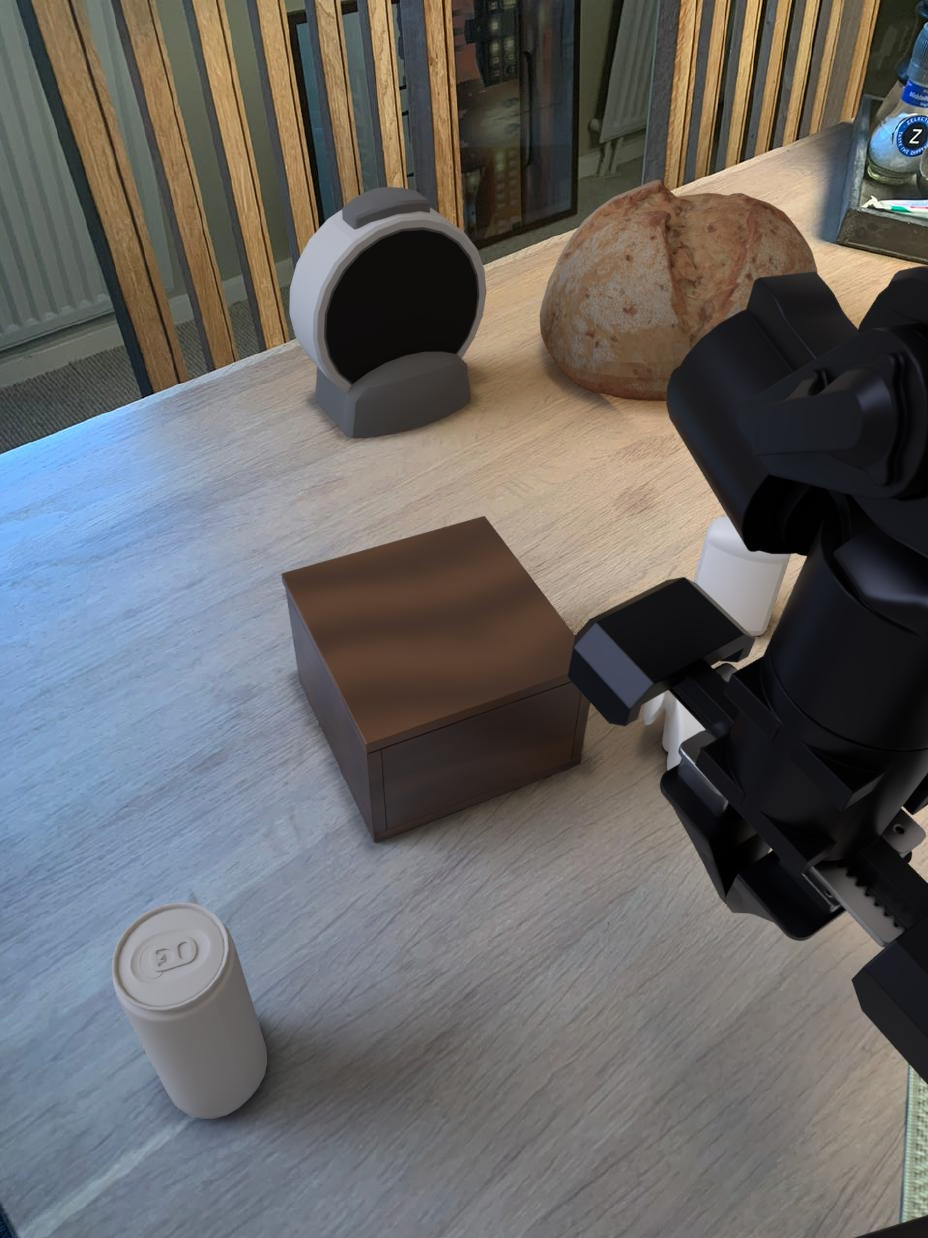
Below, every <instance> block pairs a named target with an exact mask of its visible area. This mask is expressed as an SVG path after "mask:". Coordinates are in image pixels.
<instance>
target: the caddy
mask: <svg viewBox="0 0 928 1238" xmlns="http://www.w3.org/2000/svg"><path fill="white" fill-rule="evenodd" d="M285 596H286V603H287V608H288V615H289V621H290V629H291V635H292V641H293V649H294V654H295V655H294V656H295V662H296V668H297V675H298V681H299V683H300V685H301V688H302V690H303V692H304V694H305V696H306V698H307V700H308V703H309V705H310V707H311V710H312V711H313V713H314V716H315V718H316V720H317V722H318V725H319V726H320V729H321V731H322V733H323V736H324V737H325V740H326V742H327V744H328V746H329V747H330V750H331V753H332V754H333V757H334V759H335V761H336V763H337V766H338V767H339V771H340V772H341V774H342V776H343V778H344V780H345V782H346V785H347V787H348V789H349V791H350V794H351V796H352V798H353V800H354V802H355V804H356V806H357V809H358V811H359V813H360V815H361V818H362V819H363V821H364V824H365V826H366V828H367V831H368V832H369V834H370V838H371V839H372V841H373V843H374V844H375V843H378V842H380V841H383V840H386V839H388V838H390V837H391V838H392V837H393V836H396V835H398V834H401V833H404V832H407V831H409V830H412V829H414V828H417V827H420V826H422V825H425V824H427V823H430V822H433V821H435V820H437V819H440V818H443V817H447V816H448V815H451V814H453V813H456V812H459V811H461V810H464V809H466V808H470V807H471V806H474V805H476V804H480V803H482V802H484V801H487V800H490V799H492V798H495V797H498V796H500V795H504V794H506V793H509V792H511V791H513V790H516V789H518V788H519V789H520V788H521V787H524V786H526V785H529V784H532V783H534V782H537V781H539V780H543V779H544V778H548V777H550V776H552V775H556V774H559V773H560V772H564V771H565V770H568V769H572V768H573V767H576V766H578V765H581V762H582V754H583V749H584V744H585V738H586V732H587V731H586V730H587V725H588V718H589V713H590V706H591V703H590V702H589V701H588V699H587V698H586V697H585V696H584V695H583V694H582V693H581V691H580V690H579V689H578V688H577V687H576V686H575V685H574V684H573V682H572V681H571V682H568V683H566V684H563V685H560V686H557V687H554V688H551V689H549V690H546V691H543V692H540V693H537V694H534V695H532V696H529V697H526V698H523V699H520V700H517V701H514V702H512V703H509V704H506V705H503V706H500V707H497V708H495V709H492V710H489V711H486V712H483V713H480V714H478V715H475V716H472V717H469V718H466V719H463V720H461V721H458V722H455V723H452V724H449V725H446V726H443V727H441V728H438V729H435V730H432V731H429V732H426V733H424V734H421V735H418V736H415V737H412V738H409V739H407V740H404V741H401V742H398V743H395V744H392V745H390V746H387V747H384V748H381V749H378V750H375V751H373V752H370V753H367V752H366V751H365V749H364V747H363V745H362V743H361V741H360V739H359V737H358V735H357V733H356V731H355V729H354V727H353V724H352V722H351V720H350V718H349V716H348V714H347V712H346V710H345V708H344V706H343V704H342V702H341V700H340V698H339V696H338V694H337V692H336V690H335V688H334V686H333V684H332V682H331V680H330V678H329V676H328V674H327V672H326V670H325V668H324V666H323V664H322V662H321V660H320V658H319V656H318V654H317V652H316V649H315V647H314V645H313V643H312V641H311V639H310V637H309V635H308V633H307V631H306V629H305V627H304V625H303V623H302V621H301V619H300V617H299V615H298V613H297V611H296V609H295V607H294V605H293V603H292V601H291V599H290V597H289V595H288V593H287V591H286V590H285Z"/></svg>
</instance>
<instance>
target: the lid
mask: <svg viewBox="0 0 928 1238" xmlns="http://www.w3.org/2000/svg"><path fill="white" fill-rule="evenodd" d="M280 576H281V581H282V585H283V587H284V588H285V592H286V591H287V593H288V595H289V597H290V599H291V601H292V603H293V605H294V607H295V609H296V611H297V613H298V615H299V617H300V619H301V621H302V623H303V625H304V627H305V629H306V631H307V633H308V635H309V637H310V639H311V641H312V643H313V645H314V647H315V649H316V652H317V654H318V656H319V658H320V660H321V662H322V664H323V666H324V668H325V670H326V672H327V674H328V676H329V678H330V680H331V682H332V684H333V686H334V688H335V690H336V692H337V694H338V696H339V698H340V700H341V702H342V704H343V706H344V708H345V710H346V712H347V714H348V716H349V718H350V720H351V722H352V724H353V727H354V729H355V731H356V733H357V735H358V737H359V739H360V741H361V743H362V745H363V747H364V749H365V751H366V752H367V753H370V752H373V751H375V750H378V749H381V748H384V747H387V746H390V745H392V744H395V743H398V742H401V741H404V740H407V739H409V738H412V737H415V736H418V735H421V734H424V733H426V732H429V731H432V730H435V729H438V728H441V727H443V726H446V725H449V724H452V723H455V722H458V721H461V720H463V719H466V718H469V717H472V716H475V715H478V714H480V713H483V712H486V711H489V710H492V709H495V708H497V707H500V706H503V705H506V704H509V703H512V702H514V701H517V700H520V699H523V698H526V697H529V696H532V695H534V694H537V693H540V692H543V691H546V690H549V689H551V688H554V687H557V686H560V685H563V684H566V683H568V682H571V680H570V679H569V678H568V677H567V676H568V671H569V665H570V660H571V654H572V649H573V644H574V639H575V635H576V634H575V633H574V632H573V630H572V629H571V628H570V626H569V625H568V624H567V622H566V621H565V620H564V618H562V616H561V614H560V613H559V612H558V611H557V609H556V608H555V606H553V604H552V602H551V601H550V600H549V599H548V597H547V596H546V595H545V594H544V592H543V591H542V589H540V587H539V585H538V584H537V583H536V582H535V580H534V579H533V578H532V576H531V575H530V574H529V573H528V571H527V570H526V568H525V567H524V566H523V564H522V563H521V562H520V560H519V559H518V558H517V556H516V555H515V554H514V553H513V551H512V550H511V549H510V548H509V546H508V545H507V543H506V542H505V541H504V539H503V538H502V537H501V535H500V534H499V533H498V531H497V530H496V529H495V528H494V526H493V525H492V524H491V522H490V521H489V520H488V518H487V517H486V515H482V516H479V517H474V518H471V519H469V520H464V521H462V522H461V521H460V522H458V523H454V524H450V525H447V526H443V527H440V528H436V529H433V530H430V531H425V532H423V533H419V534H415V535H412V536H408V537H404V538H401V539H398V540H395V541H389V542H387V543H384V544H380V545H377V546H373V547H370V548H365V549H361V550H358V551H355V552H351V553H348V554H345V555H341V556H337V557H334V558H331V559H327V560H323V561H320V562H316V563H314V564H309V565H305V566H302V567H299V568H296V569H291V570H288V571H284V572H282V573H281V575H280Z"/></svg>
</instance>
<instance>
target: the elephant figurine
mask: <svg viewBox="0 0 928 1238" xmlns="http://www.w3.org/2000/svg"><path fill="white" fill-rule="evenodd" d="M662 710H664V714H665V715H664V725H663V726H664V727H663V731H662V740H661V744H662V748H663V749H664V750H665V752H668V754H667V757H666V771H668V770H670V769H671V768H673V767H675V766H676V765H678V764H679V763H680V761H681V759H682V757H681V756H680V755H679V753H678V750H679V747H680V744H681V743H682V742H683V741H685V740H687V739H688V738H690V737H692V736H694V735H695V734H697V733H699V732H700V731H704V730H705V728H704V727H703V726H702V725H701V724H700V723H699V722H698V721H697V720H696V719H695V718H694V717H693V716H692V715H691V714H690V713H689V712H688V711H687V709H686V708H685V707H684V706H683V705H682V704H681V703H680V702H679V701H678V700H677V699H676V698H675V697H674V696H673V695H672V694H671V693H670V692H669V691H666V692H664V693H662V694H660V695H659V696H657V697H655V698H653V699H652V700H650V701H648V702H646V703H644V704H643V705H642V708H641V718H642V722H643V725H646V726H648V725H652V724H653V723H654V722H655V721H656V719H657V718H658V717H659V715H660V714H661V713H662Z"/></svg>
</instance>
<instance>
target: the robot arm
mask: <svg viewBox="0 0 928 1238" xmlns="http://www.w3.org/2000/svg"><path fill="white" fill-rule="evenodd" d="M665 405H666V410H667V414H668V418H669V420H670V421H671V423H672V425H673V427H674V428H675V430H676V432H677V433H678V435H679V437H680V439H681V440H682V442H683V444H684V445H685V448H687V451H688V452H689V454H690V456H691V457H692V459H693V460H694V462H695V463H696V466H697V467H698V469H699V470H700V472H701V474H702V476H703V477H704V479H705V481H706V482H707V484H708V486H709V487H710V489H711V490H712V492H713V494H714V495H715V498H716V499H717V502H718V503H719V504H720V506H721V508H722V509H723V511H724V513H725V515H726V516H728V518H729V519H730V521H731V523H732V524H733V526H734V528H735V529H736V531H737V533H738V534H739V536H740V538H741V539H742V541H743V543H744V544H745V546H746V548H747V549H748V550H749V551H750V552H756V551H761V552H765V553H769V554H791V555H795V554H796V555H798V556H803V557H806V558H805V560H804V561H803V565H802V566H801V569H800V571H799V573H798V575H797V578H796V580H795V582H794V585H793V587H792V589H791V592H790V593H789V596H788V598H787V601H786V603H785V605H784V608H783V610H782V612H781V615H780V616H779V619H778V621H777V623H776V626H775V628H774V630H773V632H772V634H771V637H770V639H769V642H768V644H767V646H766V648H765V650H764V653H763V655H762V656H760V657H758V658H757V659H755V660H754V661H752V662H749V663H748V664H746V665H744V666H743V667H740V668H739V669H737V668H736V666H734V664H732V663H737V664H738V663H739V662H741V661H743V660H745V659H746V658H748V657H750V656H749V655H750V654H751V652H752V649H753V647H754V645H755V643H756V638H755V636H752V635H751V634H749V633H748V632H747V631H746V630H745V629H744V628H743V627H742V626H741V625H740V624H739V623H738V622H737V621H736V620H735V619H734V618H733V617H731V616H730V615H729V614H728V613H727V612H726V611H725V610H724V609H723V608H722V607H721V606H720V605H719V604H718V603H717V602H716V601H715V600H714V599H712V598H711V597H710V596H709V595H708V594H707V593H706V592H705V591H704V590H703V589H702V588H701V587H700V586H699V585H698V584H697V583H695V582H694V580H691V579H689V578H687V577H686V576H681V577H675V578H670V579H666V580H664V581H662V582H660V583H658V584H656V585H654V586H652V587H650V588H648V589H646V590H645V591H643V592H641V593H639V594H637V595H635V596H632V597H631V598H629V599H627V600H625V601H622V602H621V603H618V604H617V605H615V606H613V607H610V608H609V609H607V610H605V611H603V612H601V613H599V614H597V615H594V616H593V617H591V618H590V619H588V620H587V621H586V623H584V624H583V626H582V627H581V628H580V629H579V631H578V632H577V633H576V634H574V635H575V639H574V644H573V649H572V654H571V660H570V665H569V671H568V676H567V677H568V678H569V679H570V680H571V681H572V682H573V684H574V685H575V686H576V687H577V688H578V689H579V690H580V691H581V693H582V694H583V695H584V696H585V697H586V698H587V699H588V701H589V702H590V705H592V706H593V708H595V710H596V711H597V712H598V713H599V715H601V716H602V718H603V719H604V720H605V721H606V722H607V723H608V724H610V725H615V726H619V727H627V726H628V725H631V724H632V723H634V722H636V721H638V720H639V716H640V713H641V711H642V708H643V704H644V703H646V702H648V701H650V700H652V699H653V698H655V697H657V696H659V695H660V694H662V693H664V692H666V691H669V692H670V693H671V694H672V695H673V696H674V697H675V698H676V699H677V700H678V701H679V702H680V703H681V704H682V705H683V706H684V707H685V708H686V709H687V711H688V712H689V713H690V714H691V715H692V716H693V717H694V718H695V719H696V720H697V721H698V722H699V723H700V724H701V725H702V726H703V727H704V728H705V730H704V731H700V732H699V733H697V734H695V735H694V736H692V737H690V738H688V739H687V740H685V741H683V742H682V743H681V744H680V747H679V750H678V753H679V755H680V756H681V757H682V759H681V761H680V763H679V764H678V765H676V766H675V767H673V768H671V769H670V770H666V771H665V772H664V773H663V774H662V775H661V778H660V782H659V789H660V792H661V794H662V796H663V797H664V798H665V799H666V801H667V802H668V804H670V806H671V807H672V809H673V810H674V812H675V814H676V816H677V817H678V819H679V821H680V823H681V825H682V827H683V828H684V830H685V832H686V834H687V836H688V838H689V839H690V841H691V843H692V845H693V847H694V849H695V851H696V852H697V854H698V856H699V859H700V860H701V862H702V864H703V867H704V868H705V871H706V872H707V874H708V877H709V879H710V881H711V883H712V885H713V887H714V889H715V891H716V893H717V895H718V898H719V899H720V900H721V901H722V902H723V903H724V905H726V907H727V908H728V909H729V910H730V912H731V913H733V914H748V915H752V916H753V915H754V916H756V917H759V918H761V919H763V920H766V921H768V922H771V923H773V924H774V925H776V926H777V927H778V928H779V930H780V931H781V932H782V933H783V934H784V935H785V936H786V937H787V938H788V939H791V940H792V941H796V942H805V941H808V940H810V939H811V938H813V937H814V936H816V935H817V934H819V932H821V931H822V930H823V929H825V928H826V927H828V926H829V925H830V924H832V923H833V922H835V921H836V920H837V919H838V918H840V917H841V916H843V915H844V914H845V913H848V914H849V915H850V917H851V918H853V920H855V921H856V923H857V924H858V925H859V926H860V928H862V929H863V931H864V932H866V933H867V935H868V936H869V937H870V938H871V939H872V940H873V941H874V942H875V943H876V944H877V945H878V946H879V947H880V948H882V950H880V951H879V952H878V953H877V954H876V955H875V956H873V957H872V958H871V959H870V960H869V961H868V962H867V963H865V964H864V965H863V966H862V967H861V968H860V969H859V970H858V972H857V973H855V975H854V976H853V977H852V978H851V979H850V980H851V984H852V987H853V989H854V992H855V995H856V998H857V1002H858V1003H859V1006H860V1009H861V1011H862V1012H863V1014H864V1015H865V1016H866V1017H867V1018H868V1019H869V1021H871V1023H872V1024H873V1025H874V1026H875V1027H876V1028H877V1030H878V1031H879V1032H880V1033H881V1034H882V1035H883V1036H884V1037H885V1039H886V1040H887V1041H888V1042H889V1043H890V1044H891V1045H892V1047H894V1049H895V1050H896V1051H897V1052H898V1053H899V1054H900V1055H901V1057H902V1058H903V1059H904V1060H905V1061H906V1062H907V1064H908V1065H909V1066H910V1067H911V1068H912V1069H913V1070H914V1072H916V1074H917V1075H918V1076H919V1077H920V1078H921V1079H922V1081H924V1083H925V1084H926V1085H927V1086H928V881H926V879H925V878H923V876H921V874H920V873H918V871H916V869H915V868H914V867H912V866H911V864H909V863H910V862H911V861H912V859H913V850H914V849H916V848H917V847H919V846H920V845H921V844H922V843H923V842H924V840H925V839H926V837H927V832H926V831H925V829H924V828H923V827H922V826H921V825H920V824H919V823H918V822H917V821H916V820H914V819H913V818H912V816H914V815H916V814H917V813H919V812H920V811H921V810H923V809H924V808H926V807H927V806H928V265H920V266H918V265H917V266H915V267H909V268H903V269H900V270H898V271H896V272H895V273H894V275H893V276H892V278H891V279H890V281H889V283H888V285H887V286H886V287H885V288H883V290H881V291H880V292H879V293H878V294H877V296H876V298H875V299H874V300H873V302H872V304H871V305H870V307H869V308H868V310H867V312H866V314H865V315H864V317H863V318H862V320H861V321H860V323H859V326H858V327H857V326H856V325H855V324H854V323H853V322H852V320H851V319H850V318H849V317H848V316H847V314H846V313H845V312H844V311H843V308H842V306H841V305H840V302H839V300H838V299H837V297H836V295H835V293H834V292H833V290H832V289H831V287H830V286H829V285H828V283H826V282H825V280H824V279H823V278H822V277H821V276H820V275H819V273H818V274H817V273H816V272H815V271H814V272H805V273H796V274H786V275H777V276H768V277H759V278H757V279H755V281H754V284H753V287H752V291H751V294H750V298H749V301H748V304H747V308H746V309H745V310H743V311H740V312H738V313H737V314H735V315H733V316H731V317H730V318H728V319H726V320H725V321H723V322H721V323H719V324H718V325H717V326H716V327H714V328H713V329H712V330H711V331H709V332H708V333H707V334H706V335H705V336H703V337H702V338H701V339H700V340H699V341H698V342H697V344H696V345H695V346H694V347H693V348H692V349H691V350H690V352H689V353H688V354H687V355H686V356H685V358H684V360H683V361H682V363H681V365H680V366H679V367H677V368H676V369H674V370H673V372H672V373H671V376H670V379H669V383H668V386H667V395H666V401H665ZM719 662H722V663H721V664H719V665H717V666H715V667H712V666H714V665H716V664H718V663H719ZM908 813H909V814H910V815H911V816H910V815H909V814H908ZM853 1238H928V1214H926V1215H922V1216H919V1217H916V1218H913V1219H909V1220H906V1221H903V1222H900V1223H896V1224H893V1225H890V1226H887V1227H884V1228H880V1229H876V1230H874V1231H871V1232H867V1233H864V1234H861V1235H858V1236H854V1237H853Z"/></svg>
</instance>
